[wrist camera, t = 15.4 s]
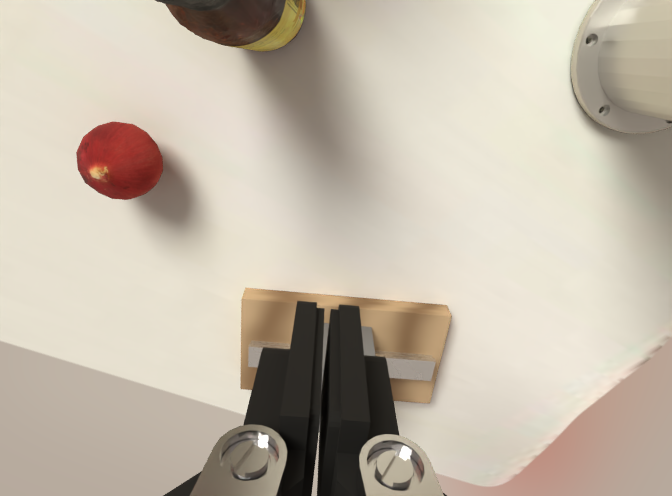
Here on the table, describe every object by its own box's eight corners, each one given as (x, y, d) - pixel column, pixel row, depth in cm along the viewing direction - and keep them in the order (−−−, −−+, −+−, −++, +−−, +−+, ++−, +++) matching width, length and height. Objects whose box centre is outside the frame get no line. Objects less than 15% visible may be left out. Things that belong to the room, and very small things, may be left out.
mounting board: (446, 305, 43) (451, 316, 41) (426, 389, 47) (429, 403, 46) (245, 288, 42) (241, 298, 40) (244, 375, 47) (240, 388, 45)
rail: (432, 351, 43) (435, 361, 41) (428, 370, 44) (430, 381, 42) (251, 337, 42) (248, 346, 41) (250, 356, 43) (248, 366, 42)
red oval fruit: (125, 191, 38) (75, 224, 31) (93, 126, 36) (31, 146, 28) (186, 174, 37) (150, 204, 30) (158, 107, 35) (111, 122, 28)
